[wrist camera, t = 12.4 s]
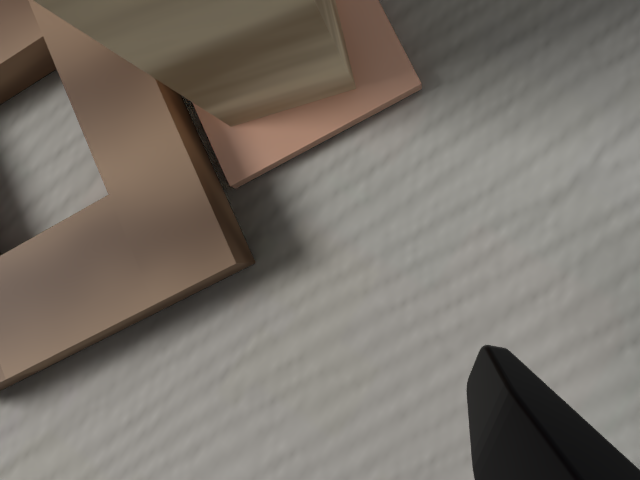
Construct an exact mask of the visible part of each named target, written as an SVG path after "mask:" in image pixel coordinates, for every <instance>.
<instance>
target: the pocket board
mask: <svg viewBox="0 0 640 480" xmlns="http://www.w3.org/2000/svg"><path fill="white" fill-rule="evenodd" d="M56 69H57V71H58V73H59V76H60V78H61V81H62V83H63V85H64V88H65V90H66V93H67V95H68V98H69V100H70V102H71V105H72V107H73V110H74V112H75V114H76V117H77V119H78V122H79V124H80V127H81V129H82V131H83V134H84V136H85V139H86V141H87V143H88V146H89V148H90V151H91V153H92V156H93V158H94V160H95V163H96V165H97V168H98V170H99V173H100V175H101V177H102V180H103V182H104V185H105V187H106V189H107V192H108V194H109V195H107V196H106V197H104V198H102V199H100V200H98V201H97V202H95V203H93V204H91V205H90V206H88V207H86V208H84V209H82V210H81V211H79V212H77V213H75V214H74V215H72V216H70V217H68V218H66V219H65V220H63V221H61V222H59V223H58V224H56V225H54V226H52V227H50V228H49V229H47V230H45V231H43V232H42V233H40V234H38V235H36V236H34V237H33V238H31V239H29V240H27V241H26V242H24V243H22V244H20V245H18V246H17V247H15V248H13V249H11V250H10V251H8V252H6V253H4V254H3V255H1V254H0V391H1V390H3V389H5V388H7V387H9V386H11V385H13V384H15V383H17V382H19V381H21V380H23V379H25V378H27V377H29V376H31V375H33V374H35V373H37V372H39V371H41V370H43V369H45V368H47V367H49V366H51V365H53V364H55V363H57V362H59V361H61V360H63V359H65V358H67V357H69V356H71V355H73V354H75V353H77V352H79V351H81V350H83V349H85V348H87V347H89V346H91V345H93V344H95V343H97V342H99V341H101V340H103V339H105V338H107V337H109V336H111V335H113V334H115V333H117V332H119V331H121V330H123V329H125V328H127V327H129V326H131V325H133V324H135V323H137V322H139V321H141V320H143V319H145V318H147V317H149V316H151V315H153V314H155V313H157V312H159V311H161V310H163V309H165V308H167V307H169V306H171V305H173V304H175V303H177V302H179V301H181V300H183V299H185V298H187V297H189V296H191V295H193V294H195V293H197V292H199V291H201V290H203V289H205V288H207V287H209V286H211V285H213V284H215V283H217V282H219V281H221V280H223V279H225V278H227V277H229V276H231V275H233V274H235V273H237V272H239V271H241V270H243V269H245V268H247V267H249V266H251V265H253V264H255V260H254V258H253V256H252V254H251V251H250V249H249V247H248V245H247V242H246V240H245V238H244V236H243V233H242V231H241V229H240V227H239V224H238V222H237V220H236V218H235V215H234V213H233V211H232V209H231V206H230V204H229V202H228V200H227V198H226V195H225V193H224V191H223V189H222V186H221V184H220V182H219V180H218V177H217V175H216V173H215V171H214V168H213V166H212V164H211V162H210V159H209V157H208V155H207V153H206V150H205V148H204V146H203V144H202V141H201V139H200V137H199V135H198V133H197V130H196V128H195V126H194V124H193V121H192V119H191V117H190V115H189V112H188V110H187V108H186V106H185V103H184V101H183V99H182V97H181V95H180V94H179V93H177V92H175V91H174V90H172V89H171V88H169V87H168V86H166V85H164V84H163V83H161V82H160V81H158V80H157V79H155V78H154V77H152V76H150V75H149V74H147V73H146V72H144V71H143V70H141V69H139V68H138V67H136V66H135V65H133V64H132V63H130V62H128V61H127V60H125V59H124V58H122V57H121V56H119V55H118V54H116V53H114V52H113V51H111V50H110V49H108V48H107V47H105V46H103V45H102V44H100V43H99V42H97V41H96V40H94V39H92V38H91V37H89V36H88V35H86V34H85V33H83V32H82V31H80V30H78V29H77V28H75V27H74V26H72V25H71V24H69V23H67V22H66V21H64V20H63V19H61V18H60V17H58V16H56V15H55V14H53V13H52V12H50V11H49V10H47V9H46V8H44V7H42V6H41V5H39V4H38V3H36V2H35V1H33V0H0V104H2V103H4V102H5V101H7V100H8V99H10V98H11V97H13V96H15V95H16V94H18V93H19V92H21V91H23V90H24V89H26V88H27V87H29V86H30V85H32V84H34V83H35V82H37V81H38V80H40V79H42V78H43V77H45V76H46V75H48V74H49V73H51V72H53V71H54V70H56Z"/></svg>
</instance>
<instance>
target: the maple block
mask: <svg viewBox="0 0 640 480" xmlns="http://www.w3.org/2000/svg"><path fill="white" fill-rule="evenodd" d="M33 1H35V2H36V3H38V4H39V5H41V6H42V7H44V8H46V9H47V10H49V11H50V12H52V13H53V14H55V15H56V16H58V17H60V18H61V19H63V20H64V21H66V22H67V23H69V24H71V25H72V26H74V27H75V28H77V29H78V30H80V31H82V32H83V33H85V34H86V35H88V36H89V37H91V38H92V39H94V40H96V41H97V42H99V43H100V44H102V45H103V46H105V47H107V48H108V49H110V50H111V51H113V52H114V53H116V54H118V55H119V56H121V57H122V58H124V59H125V60H127V61H128V62H130V63H132V64H133V65H135V66H136V67H138V68H139V69H141V70H143V71H144V72H146V73H147V74H149V75H150V76H152V77H154V78H155V79H157V80H158V81H160V82H161V83H163V84H164V85H166V86H168V87H169V88H171V89H172V90H174V91H175V92H177V93H179V94H180V95H182V96H183V97H185V98H186V99H188V100H190V101H191V102H193V103H194V104H196V105H197V106H199V107H200V108H202V109H204V110H205V111H207V112H208V113H210V114H211V115H213V116H215V117H216V118H218V119H219V120H221V121H222V122H224V123H226V124H227V125H229V126H230V127H232V126H235V125H238V124H242V123H245V122H248V121H252V120H255V119H258V118H261V117H265V116H268V115H271V114H275V113H278V112H281V111H284V110H288V109H291V108H294V107H298V106H301V105H304V104H307V103H311V102H314V101H317V100H320V99H324V98H327V97H330V96H334V95H337V94H340V93H343V92H347V91H350V90H353V89H356V85H355V81H354V77H353V73H352V69H351V64H350V60H349V56H348V52H347V48H346V43H345V39H344V35H343V31H342V27H341V22H340V18H339V14H338V10H337V6H336V1H335V0H33Z"/></svg>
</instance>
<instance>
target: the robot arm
mask: <svg viewBox="0 0 640 480" xmlns="http://www.w3.org/2000/svg"><path fill="white" fill-rule="evenodd" d="M467 403H468V416H469V429H470V441H471V454H472V465H473V472H474V478H475V480H640V470H639V469H638V468H637V467H636V466H635V465H634V464H633V463H631V462H630V461H629V460H628V459H627V458H626V457H625V456H624V455H623V454H622V453H620V452H619V451H618V450H617V449H616V448H615V447H614V446H613V445H612V444H611V443H610V442H608V441H607V440H606V439H605V438H604V437H603V436H602V435H601V434H600V433H599V432H598V431H596V430H595V429H594V428H593V427H592V426H591V425H590V424H589V423H588V422H587V421H586V420H584V419H583V418H582V417H581V416H580V415H579V414H578V413H577V412H576V411H575V410H573V409H572V408H571V407H570V406H569V405H568V404H567V403H566V402H565V401H564V400H563V399H561V398H560V397H559V396H558V395H557V394H556V393H555V392H554V391H553V390H552V389H551V388H549V387H548V386H547V385H546V384H545V383H544V382H543V381H542V380H541V379H540V378H538V377H537V376H536V375H535V374H534V373H533V372H532V371H531V370H530V369H529V368H528V367H526V366H525V365H524V364H523V363H522V362H521V361H520V360H519V359H518V358H517V357H516V356H514V355H513V354H512V353H511V352H510V351H509V350H508V349H506V348H502V347H496V346H491V345H485V346H483V347H482V348H481V349H480V351H479V353H478V356H477V358H476V361H475V363H474V366H473V368H472V371H471V373H470V376H469V378H468V382H467Z"/></svg>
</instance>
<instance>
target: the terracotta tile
mask: <svg viewBox="0 0 640 480" xmlns="http://www.w3.org/2000/svg"><path fill="white" fill-rule="evenodd" d="M335 1H336V6H337V10H338V14H339V18H340V22H341V27H342V31H343V35H344V39H345V43H346V48H347V52H348V56H349V60H350V64H351V69H352V73H353V77H354V81H355V85H356V89H353V90H350V91H347V92H343V93H340V94H337V95H334V96H330V97H327V98H324V99H320V100H317V101H314V102H311V103H307V104H304V105H301V106H298V107H294V108H291V109H288V110H284V111H281V112H278V113H275V114H271V115H268V116H265V117H261V118H258V119H255V120H252V121H248V122H245V123H242V124H238V125H235V126H232V127H230V126H229V125H227V124H226V123H224V122H222V121H221V120H219V119H218V118H216V117H215V116H213V115H211V114H210V113H208V112H207V111H205V110H204V109H202V108H200V107H199V106H197V105H196V104H194V103H193V102H192V103H193V105H194V108H195V110H196V112H197V114H198V117H199V119H200V121H201V123H202V125H203V128H204V130H205V132H206V134H207V137H208V139H209V141H210V143H211V146H212V148H213V150H214V152H215V154H216V157H217V159H218V161H219V163H220V166H221V168H222V170H223V172H224V175H225V177H226V179H227V181H228V183H229V186H230V187H233V188H235V189H236V188H238V187H240V186H242V185H244V184H245V183H247V182H249V181H251V180H253V179H255V178H257V177H259V176H260V175H262V174H264V173H266V172H268V171H270V170H272V169H273V168H275V167H277V166H279V165H281V164H283V163H285V162H287V161H288V160H290V159H292V158H294V157H296V156H298V155H300V154H301V153H303V152H305V151H307V150H309V149H311V148H313V147H315V146H316V145H318V144H320V143H322V142H324V141H326V140H328V139H329V138H331V137H333V136H335V135H337V134H339V133H341V132H343V131H344V130H346V129H348V128H350V127H352V126H354V125H356V124H357V123H359V122H361V121H363V120H365V119H367V118H369V117H371V116H372V115H374V114H376V113H378V112H380V111H382V110H384V109H385V108H387V107H389V106H391V105H393V104H395V103H397V102H399V101H400V100H402V99H404V98H406V97H408V96H410V95H412V94H413V93H415V92H417V91H419V90H421V89H422V84H421V82H420V80H419V78H418V76H417V74H416V72H415V70H414V68H413V66H412V64H411V62H410V60H409V58H408V56H407V55H406V53H405V51H404V49H403V47H402V45H401V43H400V41H399V39H398V37H397V35H396V33H395V31H394V29H393V27H392V26H391V24H390V22H389V20H388V18H387V16H386V14H385V12H384V10H383V8H382V6H381V4H380V2H379V0H335Z"/></svg>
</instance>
